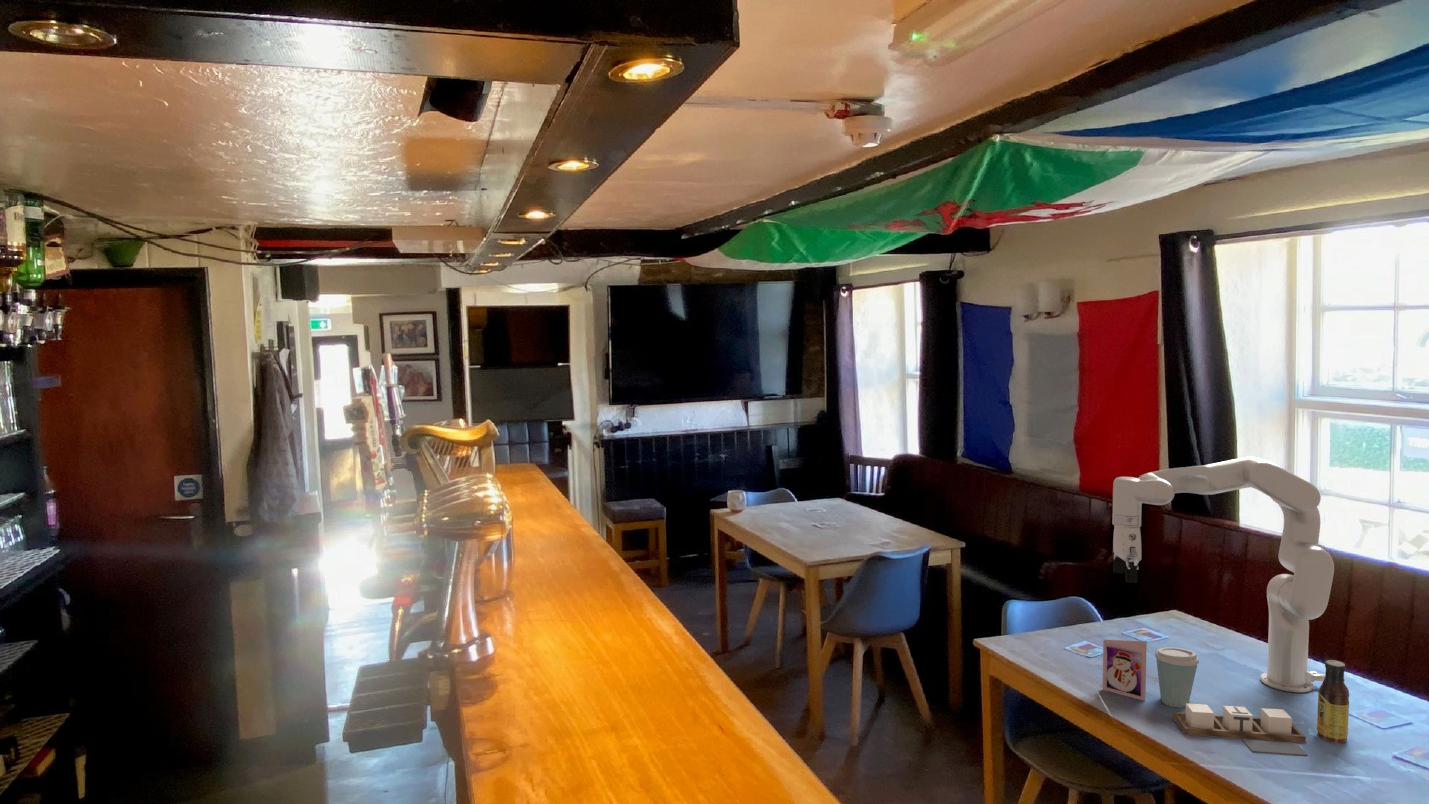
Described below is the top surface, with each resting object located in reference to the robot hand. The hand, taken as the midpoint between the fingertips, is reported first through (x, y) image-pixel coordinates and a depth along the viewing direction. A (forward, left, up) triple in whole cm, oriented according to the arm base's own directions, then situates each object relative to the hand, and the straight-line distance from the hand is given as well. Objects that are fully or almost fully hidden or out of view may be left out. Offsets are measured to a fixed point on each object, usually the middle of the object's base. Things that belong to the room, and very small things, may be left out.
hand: (1125, 577), depth 251 cm
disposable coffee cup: (-9, +16, -30) cm, 36 cm away
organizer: (-19, +31, -30) cm, 48 cm away
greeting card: (+2, +11, -30) cm, 32 cm away
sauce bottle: (-40, +32, -30) cm, 60 cm away
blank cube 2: (-28, +31, -30) cm, 51 cm away
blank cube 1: (-11, +31, -30) cm, 44 cm away
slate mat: (-24, +40, -30) cm, 56 cm away
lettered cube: (-19, +31, -30) cm, 47 cm away
